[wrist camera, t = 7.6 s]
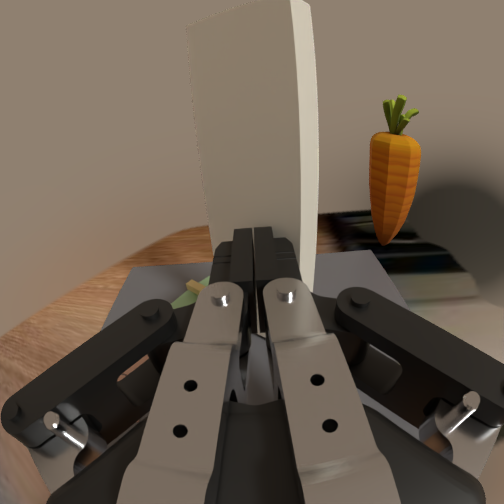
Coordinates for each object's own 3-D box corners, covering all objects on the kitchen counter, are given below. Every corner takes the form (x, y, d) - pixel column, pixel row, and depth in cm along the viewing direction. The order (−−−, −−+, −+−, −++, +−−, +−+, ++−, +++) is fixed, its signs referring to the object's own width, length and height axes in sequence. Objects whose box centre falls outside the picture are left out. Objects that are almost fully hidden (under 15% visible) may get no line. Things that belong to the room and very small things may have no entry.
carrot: (368, 229, 29) (377, 93, 21) (409, 242, 26) (425, 100, 18) (352, 248, 25) (361, 89, 18) (399, 264, 23) (420, 96, 15)
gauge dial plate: (69, 472, 8) (52, 463, 7) (139, 277, 24) (134, 263, 23) (458, 450, 8) (474, 440, 7) (366, 261, 23) (368, 246, 23)
